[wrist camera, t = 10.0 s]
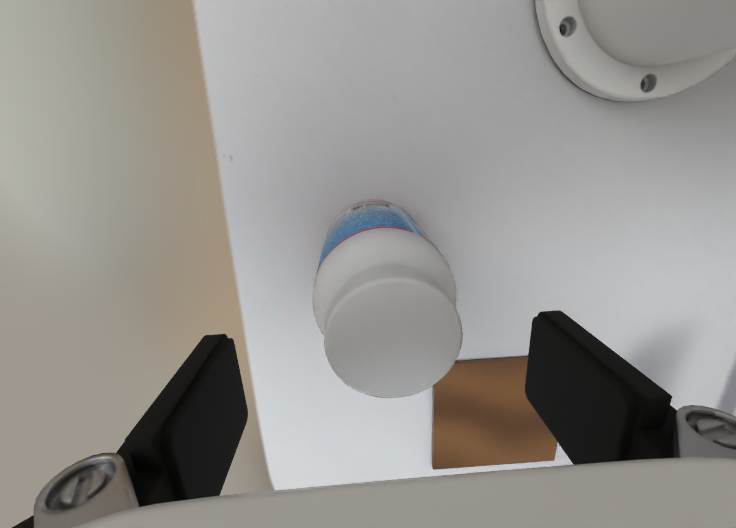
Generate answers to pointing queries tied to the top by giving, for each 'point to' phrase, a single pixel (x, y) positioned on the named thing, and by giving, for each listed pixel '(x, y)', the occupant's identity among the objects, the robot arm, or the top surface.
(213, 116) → the top surface
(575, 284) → the top surface
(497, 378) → the coaster
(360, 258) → the pill bottle
